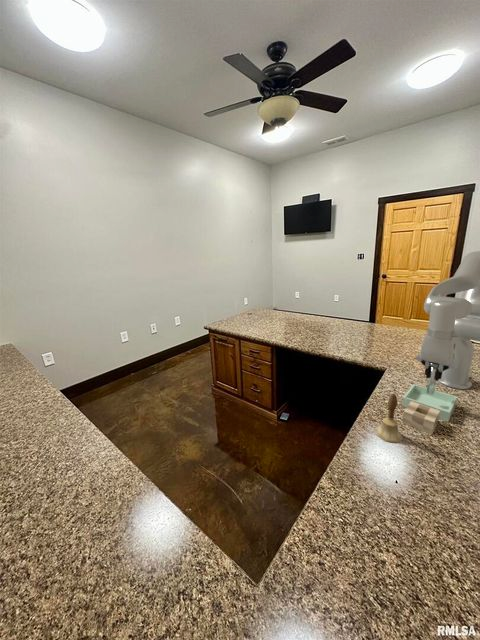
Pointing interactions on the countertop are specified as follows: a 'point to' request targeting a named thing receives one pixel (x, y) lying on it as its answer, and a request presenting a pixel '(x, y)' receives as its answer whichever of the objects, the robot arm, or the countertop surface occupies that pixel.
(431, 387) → the steel pin
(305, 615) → the countertop surface
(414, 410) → the hitch block
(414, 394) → the tray
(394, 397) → the hand bell
